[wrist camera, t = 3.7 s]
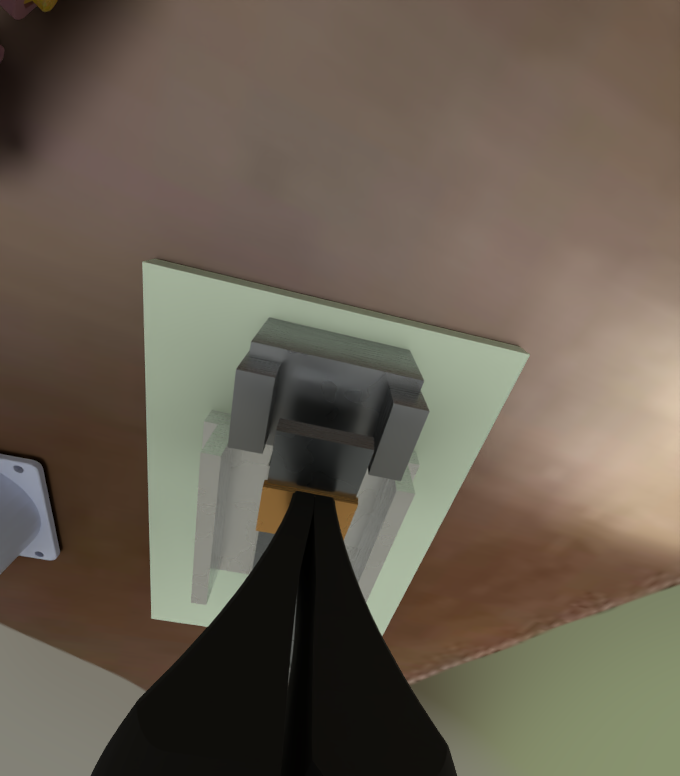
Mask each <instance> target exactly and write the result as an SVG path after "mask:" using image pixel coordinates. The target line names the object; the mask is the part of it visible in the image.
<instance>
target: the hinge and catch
mask: <svg viewBox="0 0 680 776" xmlns="http://www.w3.org/2000/svg"><path fill="white" fill-rule="evenodd" d="M423 383H424V379H423V377H422V375H421V373H420V371H419V368H418V366H417V364H416V362H415V360H414V358H413V356H412V354H411V351H410V350H408V349H403V348H399V347H395V346H391V345H386V344H382V343H378V342H373V341H369V340H365V339H361V338H356V337H352V336H348V335H343V334H339V333H335V332H331V331H326V330H322V329H318V328H313V327H309V326H305V325H301V324H296V323H292V322H288V321H283V320H279V319H275V318H270V317H269V318H268V319H267V321H266V322H265V323H264V325H263V326H262V327H261V329H260V330H259V331H258V333H257V334H256V335H255V337H254V338H253V340H252V341H251V345H250V350H249V352H248V353H247V354H246V356H245V357H244V359H243V360H242V361H241V363H240V364H239V366H238V367H237V369H236V373H235V383H234V392H233V401H232V411H231V420H230V429H229V439H228V447H229V448H234V449H239V450H244V451H249V452H254V453H259V454H263V451H264V448H265V445H266V444H267V445H272V446H273V445H274V439H275V433H276V429H277V426H278V422H279V419H280V418H283V419H288V420H293V421H297V422H302V423H307V424H312V425H317V426H322V427H327V428H331V429H336V430H341V431H346V432H351V433H356V434H360V435H365V436H370V437H374V453H373V455H372V458H371V461H370V463H369V466H368V475H372V476H377V477H382V478H387V479H392V480H397V481H401V479H402V477H403V474H404V472H405V470H406V467H407V465H408V462H409V460H410V458H411V455H412V453H413V450H414V448H415V446H416V443H417V441H418V438H419V436H420V433H421V431H422V429H423V426H424V424H425V421H426V419H427V417H428V414H429V412H430V411H429V409H428V406H427V404H426V402H425V399H424V397H423V395H422V392H421V388H422V386H423ZM291 662H292V661H291ZM291 662H290V667H289V676H290V669H291ZM288 683H289V678H288Z"/></svg>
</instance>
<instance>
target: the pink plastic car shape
mask: <svg viewBox="0 0 680 776" xmlns="http://www.w3.org/2000/svg"><path fill="white" fill-rule="evenodd" d="M57 1H58V0H0V6H1V7H2V8H4V9H5V10H6V11H7V12H8V13H9V14H10V15H11V16H12V17H13V18H14V19H16V20H20V19H22V18H24V17H25V16H26V15H27V14H29V13H30V12H31V11H32V10H33V9H34V8H35V7H36V6H38V7H39V8H40V9H41V10H42V11H44V12H47V11H50V10H51V9H52V8H53V7H54V6H55V4H56V2H57ZM3 56H4V48H3V46H2V45H1V44H0V63H1V61H2V59H3Z"/></svg>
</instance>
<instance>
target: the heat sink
mask: <svg viewBox="0 0 680 776" xmlns="http://www.w3.org/2000/svg"><path fill="white" fill-rule="evenodd" d="M230 420H231V414H229V413H224V412H220V411H215V410H211V412H210V413H209V415H208V416H207V418H206V419H205V421H204V427H203V442H202V450H201V452H200V466H199V482H198V498H197V514H196V530H195V546H194V561H193V577H192V593H191V603H196V604H202V605H207V602H208V599H209V596H210V594H211V591H212V588H213V585H214V582H215V580H216V577H217V574H218V571H219V570H225V571H231V572H237V573H243V574H250V572H251V571H252V568H253V562H254V556H255V550H256V544H257V539H258V533H259V531H256V525H257V519H258V513H259V506H260V500H261V494H262V488H263V484H264V481H265V480H268V474H269V468H270V463H271V457H272V451H273V446H272V445H267V444H266V445H265V448H264V451H263V454H259V453H254V452H249V451H244V450H239V449H234V448H229V447H228V439H229V429H230ZM419 466H420V464H419V461H418V457H417V454H416V452H415V451H413V453H412V455H411V458H410V460H409V462H408V465H407V467H406V470H405V472H404V474H403V477H402V479H401V481H397V480H392V479H387V478H382V477H377V476H372V475H368V468H367V471H366V473H365V476H364V478H363V481H362V483H361V486H360V489H359V491H358V494H357V496H356V497H358V506H357V509H356V511H355V514H354V516H353V519H352V521H351V524H350V526H349V529H348V531H347V533H346V536H345V538H344V543H345V547H346V550H347V553H348V556H349V559H350V562H351V565H352V568H353V571H354V574H355V576H356V579H357V581H358V584H359V587H360V589H361V592H362V594H363V597H364V599H365V601H366V602H367V600H368V598H369V595H370V593H371V591H372V589H373V587H374V584H375V582H376V580H377V578H378V575H379V573H380V571H381V569H382V567H383V564H384V562H385V560H386V558H387V556H388V553H389V551H390V549H391V547H392V544H393V542H394V540H395V538H396V536H397V533H398V531H399V529H400V527H401V525H402V522H403V520H404V518H405V516H406V513H407V511H408V509H409V507H410V505H411V502H412V500H413V498H414V496H415V490H414V486H413V479H414V477H415V475H416V473H417V470H418V468H419Z"/></svg>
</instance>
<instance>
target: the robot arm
mask: <svg viewBox="0 0 680 776" xmlns="http://www.w3.org/2000/svg"><path fill="white" fill-rule="evenodd" d="M59 554H60V549H59V544H58V539H57V534H56V529H55V524H54V519H53V515H52V510H51V505H50V500H49V495H48V490H47V485H46V480H45V475H44V470H43V467H42V465H41V464H40V463H39V462H37V461H35V460H31V459H26V458H21V457H15V456H10V455H4V454H0V574H1V573H2V572H3V571H4V570H5V569H6V568H7V567H8V566H9V565H10V564H11V563H12V562H13V561H14V560H15V559H16V558H17V557H18V556H25V557H32V558H38V559H44V560H55V559H56V558H57V557H58V556H59ZM296 598H297V601H296ZM295 607H296V617H295ZM294 617H295V632H294V644H293V654H292V662H291V669H290V676H289V667H290V657H291V646H292V636H293V626H294ZM288 678H289V683H288ZM287 689H288V690H287ZM91 776H457V774H456V770H455V766H454V763H453V760H452V757H451V753H450V750H449V747H448V745H447V743H446V742H445V740H444V738H443V737H442V736H441V734H440V733H439V732H438V730H437V728H436V727H435V725H434V724H433V722H432V721H431V719H430V718H429V716H428V714H427V713H426V711H425V710H424V708H423V707H422V705H421V704H420V702H419V700H418V699H417V697H416V696H415V694H414V692H413V691H412V689H411V687H410V686H409V684H408V682H407V681H406V679H405V677H404V676H403V674H402V672H401V670H400V668H399V667H398V665H397V663H396V661H395V659H394V657H393V656H392V654H391V652H390V650H389V648H388V647H387V645H386V643H385V641H384V639H383V637H382V635H381V633H380V631H379V629H378V627H377V625H376V623H375V621H374V619H373V617H372V615H371V612H370V610H369V608H368V606H367V604H366V601H365V599H364V597H363V594H362V592H361V589H360V587H359V584H358V581H357V579H356V576H355V574H354V571H353V568H352V565H351V562H350V559H349V556H348V553H347V550H346V547H345V543H344V540H343V537H342V533H341V529H340V525H339V521H338V516H337V511H336V506H335V501H334V499H333V497H328V496H322V495H317V494H315V497H314V494H312V493H307V492H302V491H295V493H293V495H292V499H291V502H290V504H289V507H288V509H287V512H286V514H285V516H284V518H283V520H282V522H281V524H280V526H279V527H278V529H277V531H276V533H275V535H274V536H273V538H272V540H271V542H270V543H269V545H268V547H267V548H266V550H265V551H264V553H263V554H262V556H261V557H260V559H259V561H258V562H257V564H256V565H255V567H254V568H253V570H252V571H251V572H250V574H249V575H248V577H247V578H246V579H245V581H244V582H243V583H242V585H241V586H240V587H239V589H238V590H237V591H236V593H235V594H234V595H233V597H232V598H231V599H230V600H229V602H228V603H227V604H226V605H225V607H224V608H223V609H222V610H221V612H220V613H219V614H218V615H217V616H216V618H215V619H214V620H213V621H212V622H211V624H210V625H209V626H208V627H207V628H206V629H205V630H204V631H203V633H202V634H201V635H200V636H199V637H198V638H197V639H196V640H195V641H194V643H193V644H192V645H191V646H190V647H189V648H188V649H187V650H186V651H185V652H184V654H183V655H182V656H181V657H180V658H179V659H178V660H177V661H176V662H175V663H174V664H173V665H172V666H171V667H170V668H169V669H168V670H167V671H166V672H165V673H164V674H163V675H162V676H161V677H160V678H159V679H158V680H157V681H156V682H155V683H154V684H153V685H152V686H151V687H150V688H149V689H148V690H147V691H146V692H145V693H144V694H143V695H142V696H141V697H140V698H139V700H138V701H137V702H136V704H135V705H134V706H133V708H132V709H131V711H130V712H129V713H128V715H127V716H126V718H125V719H124V720H123V722H122V723H121V725H120V726H119V728H118V729H117V731H116V732H115V734H114V735H113V737H112V738H111V740H110V741H109V743H108V745H107V746H106V748H105V750H104V751H103V753H102V755H101V757H100V758H99V760H98V762H97V764H96V766H95V768H94V770H93V772H92V774H91Z"/></svg>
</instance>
